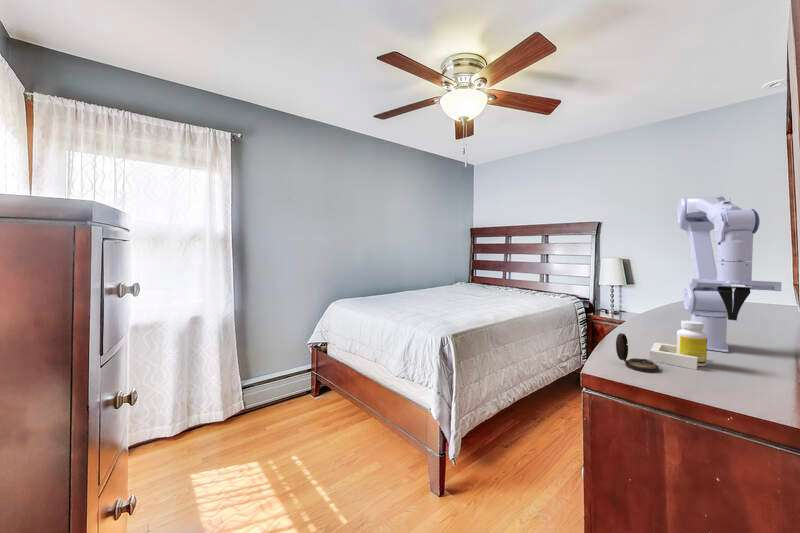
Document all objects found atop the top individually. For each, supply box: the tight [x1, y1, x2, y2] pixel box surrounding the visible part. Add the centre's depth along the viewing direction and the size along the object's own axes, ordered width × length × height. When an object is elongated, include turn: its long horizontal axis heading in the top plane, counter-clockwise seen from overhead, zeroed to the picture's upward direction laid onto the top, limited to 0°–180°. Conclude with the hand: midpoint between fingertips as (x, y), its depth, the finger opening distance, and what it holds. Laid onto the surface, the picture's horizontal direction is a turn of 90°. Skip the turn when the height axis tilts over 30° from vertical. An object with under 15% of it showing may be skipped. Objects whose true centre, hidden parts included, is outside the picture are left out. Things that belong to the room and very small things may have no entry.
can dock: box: [649, 342, 698, 370], centre depth 80 cm, size 10×8×2 cm
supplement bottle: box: [675, 320, 708, 367], centre depth 78 cm, size 5×5×10 cm
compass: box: [615, 332, 660, 373], centre depth 76 cm, size 8×8×7 cm
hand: (732, 319), depth 77 cm, fingers closed
